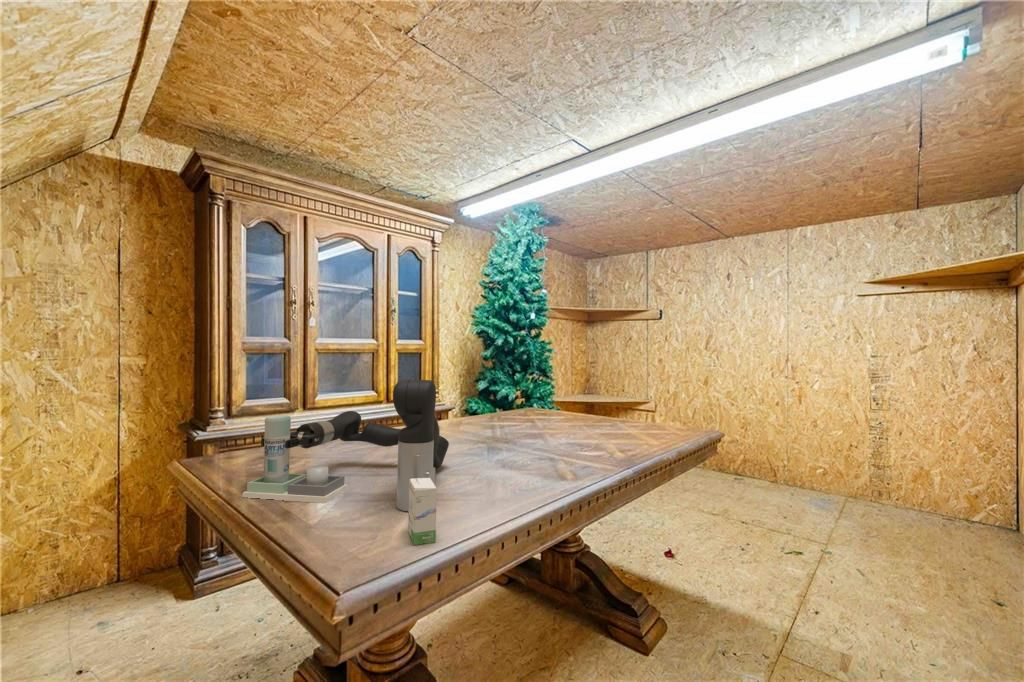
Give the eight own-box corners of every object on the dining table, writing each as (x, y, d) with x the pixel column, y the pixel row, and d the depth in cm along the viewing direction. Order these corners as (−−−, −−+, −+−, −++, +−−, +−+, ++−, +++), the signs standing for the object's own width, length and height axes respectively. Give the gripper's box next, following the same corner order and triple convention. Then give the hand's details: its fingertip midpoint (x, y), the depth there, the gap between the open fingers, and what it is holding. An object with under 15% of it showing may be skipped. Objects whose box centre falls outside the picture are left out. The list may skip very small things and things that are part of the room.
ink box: (436, 542, 92) (437, 486, 92) (412, 546, 90) (414, 489, 90) (429, 527, 100) (430, 476, 100) (407, 530, 98) (408, 478, 98)
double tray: (347, 489, 127) (348, 463, 127) (325, 503, 115) (326, 474, 115) (272, 485, 129) (273, 459, 130) (242, 498, 118) (243, 470, 118)
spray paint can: (291, 483, 126) (293, 415, 127) (284, 490, 120) (286, 418, 120) (267, 484, 125) (269, 415, 125) (259, 491, 118) (261, 418, 119)
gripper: (333, 447, 135) (293, 459, 119) (297, 444, 139) (253, 454, 123) (334, 423, 135) (294, 431, 119) (297, 420, 139) (254, 428, 124)
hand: (273, 443), depth 121 cm, fingers open, 8 cm apart
